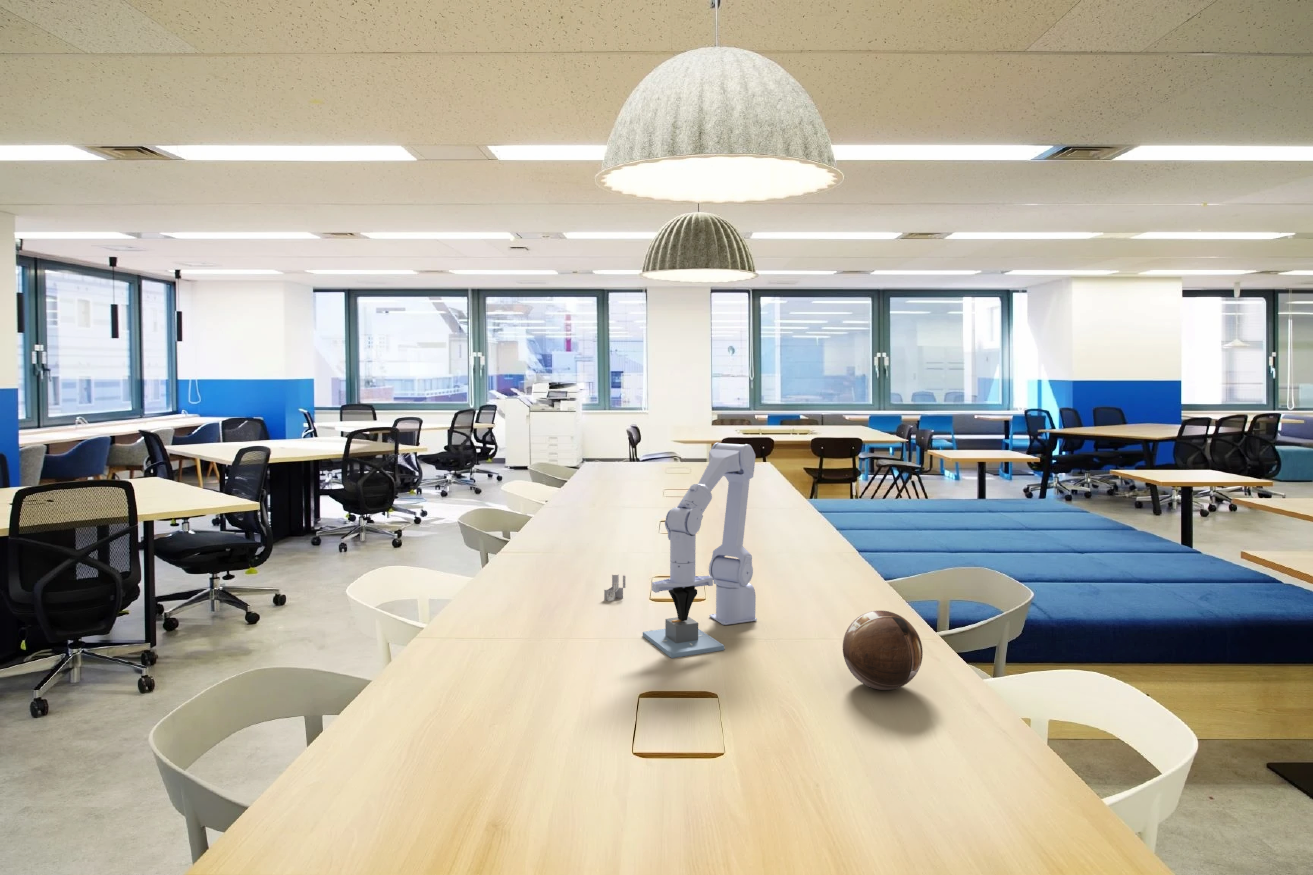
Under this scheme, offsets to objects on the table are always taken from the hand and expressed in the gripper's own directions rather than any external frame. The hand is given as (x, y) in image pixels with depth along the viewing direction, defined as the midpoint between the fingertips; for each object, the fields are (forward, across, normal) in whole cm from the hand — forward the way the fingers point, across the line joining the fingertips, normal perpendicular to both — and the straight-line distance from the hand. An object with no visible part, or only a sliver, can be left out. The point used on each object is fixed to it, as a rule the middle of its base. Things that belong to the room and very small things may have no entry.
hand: (682, 619), depth 183 cm
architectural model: (+6, -1, -35) cm, 35 cm away
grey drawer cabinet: (+4, 0, 0) cm, 4 cm away
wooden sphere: (+6, -24, +39) cm, 46 cm away
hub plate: (+5, 0, 0) cm, 5 cm away
